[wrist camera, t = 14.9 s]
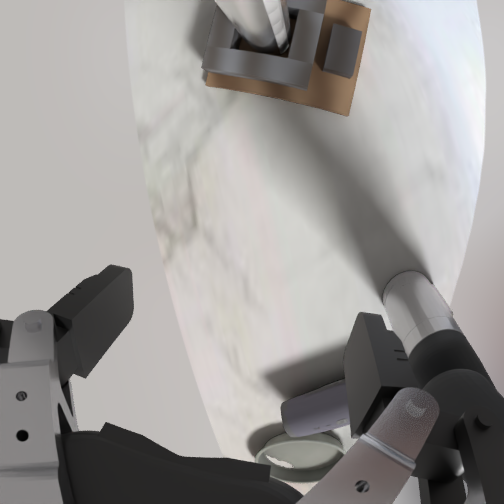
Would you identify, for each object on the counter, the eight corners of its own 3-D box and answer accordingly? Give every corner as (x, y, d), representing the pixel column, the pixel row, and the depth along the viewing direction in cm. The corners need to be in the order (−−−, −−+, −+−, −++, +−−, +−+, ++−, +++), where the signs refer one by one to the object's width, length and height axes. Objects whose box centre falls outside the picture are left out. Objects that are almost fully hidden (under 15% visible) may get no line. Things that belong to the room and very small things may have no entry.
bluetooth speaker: (299, 413, 66) (297, 447, 57) (281, 388, 64) (277, 424, 54) (396, 380, 59) (404, 414, 50) (384, 351, 56) (394, 387, 47)
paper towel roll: (253, 62, 40) (201, 1, 17) (241, 25, 38) (183, -57, 15) (297, 51, 38) (290, -24, 16) (284, 14, 36) (264, -80, 13)
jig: (369, 12, 35) (378, -3, 29) (346, 116, 42) (354, 114, 36) (233, -15, 36) (224, -31, 30) (208, 86, 44) (194, 81, 38)
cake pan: (250, 426, 71) (247, 440, 66) (351, 423, 66) (353, 437, 62) (262, 471, 79) (260, 483, 75) (345, 469, 75) (346, 482, 70)
